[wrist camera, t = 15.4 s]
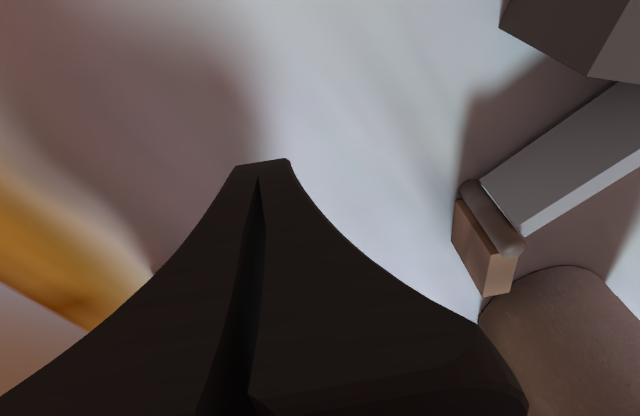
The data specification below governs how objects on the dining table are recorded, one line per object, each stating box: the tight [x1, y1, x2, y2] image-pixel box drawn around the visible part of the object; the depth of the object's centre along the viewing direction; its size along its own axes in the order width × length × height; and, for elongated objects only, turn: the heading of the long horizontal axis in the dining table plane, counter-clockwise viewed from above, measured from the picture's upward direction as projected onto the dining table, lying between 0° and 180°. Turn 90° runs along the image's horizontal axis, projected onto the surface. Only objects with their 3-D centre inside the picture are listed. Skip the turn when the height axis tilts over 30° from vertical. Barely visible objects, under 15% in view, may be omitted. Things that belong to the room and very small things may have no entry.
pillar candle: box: [478, 266, 640, 416], centre depth 25 cm, size 10×10×15 cm
